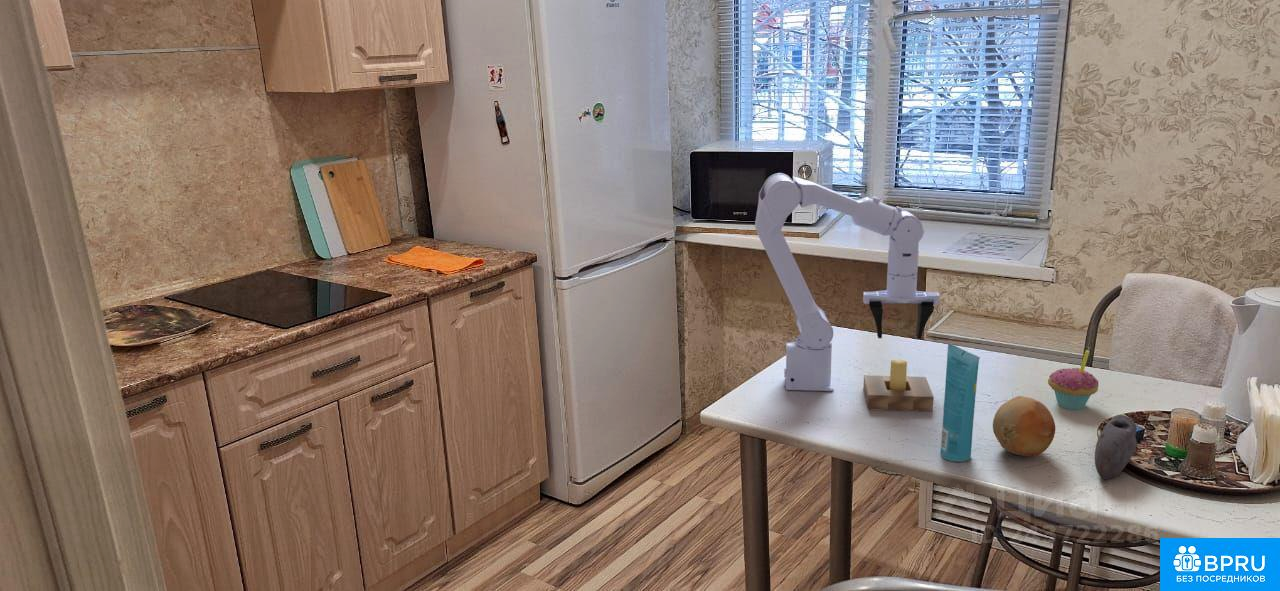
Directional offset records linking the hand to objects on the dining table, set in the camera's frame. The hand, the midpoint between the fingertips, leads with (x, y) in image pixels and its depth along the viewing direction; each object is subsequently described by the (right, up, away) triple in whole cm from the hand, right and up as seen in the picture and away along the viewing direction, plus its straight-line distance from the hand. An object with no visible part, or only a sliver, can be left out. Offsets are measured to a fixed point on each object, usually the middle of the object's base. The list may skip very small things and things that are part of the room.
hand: (898, 337), depth 177 cm
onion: (+12, -19, -28) cm, 36 cm away
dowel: (-2, -12, -6) cm, 13 cm away
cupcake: (+30, -13, -11) cm, 34 cm away
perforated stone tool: (+25, -20, -34) cm, 46 cm away
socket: (-2, -12, -5) cm, 13 cm away
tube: (+1, -19, -28) cm, 34 cm away
